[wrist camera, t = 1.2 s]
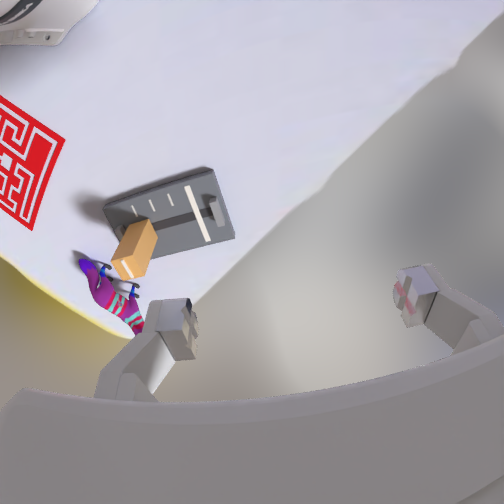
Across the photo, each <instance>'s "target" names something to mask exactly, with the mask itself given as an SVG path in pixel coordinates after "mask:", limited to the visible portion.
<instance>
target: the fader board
mask: <svg viewBox="0 0 504 504" xmlns="http://www.w3.org/2000/svg"><path fill="white" fill-rule="evenodd" d="M103 211H104V213H105V215H106V217H107V219H108V221H109V223H110V224H111V226H112V228H113V230H114V232H115V234H116V236H117V237H118V239H119V241H121V240H122V238H123V236H124V234H125V232H126V230H127V228H128V226H129V225H130V224H133V223H136V222H140V221H143V220H146V219H149V220H150V222H151V224H152V226H153V228H154V230H155V232H156V234H157V236H158V239H157V242H156V244H155V247H154V250H153V253H152V256H151V259H154V258H158V257H162V256H166V255H170V254H174V253H178V252H182V251H186V250H190V249H194V248H198V247H202V246H206V245H210V244H215V243H219V242H223V241H227V240H231V239H235V232H234V229H233V226H232V223H231V221H230V218H229V215H228V212H227V209H226V206H225V203H224V200H223V197H222V194H221V191H220V188H219V185H218V182H217V179H216V176H215V173H214V170H210V171H207V172H203V173H200V174H196V175H193V176H190V177H186V178H183V179H180V180H177V181H173V182H170V183H167V184H164V185H161V186H158V187H155V188H152V189H149V190H146V191H143V192H140V193H137V194H134V195H131V196H129V197H126V198H123V199H120V200H118V201H115V202H112V203H109V204H107V205H105V207H104V208H103ZM151 259H150V260H151Z"/></svg>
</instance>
